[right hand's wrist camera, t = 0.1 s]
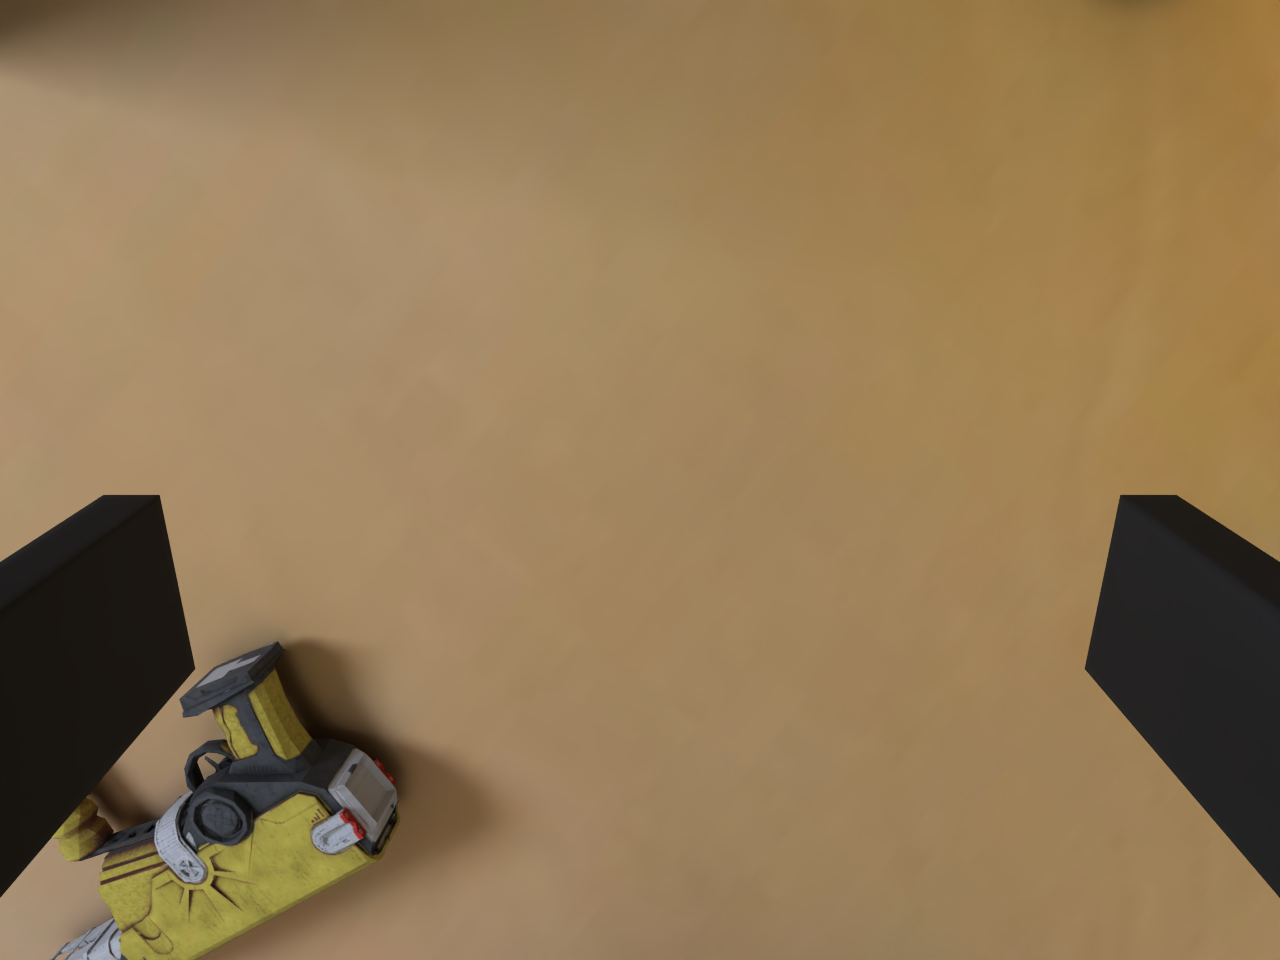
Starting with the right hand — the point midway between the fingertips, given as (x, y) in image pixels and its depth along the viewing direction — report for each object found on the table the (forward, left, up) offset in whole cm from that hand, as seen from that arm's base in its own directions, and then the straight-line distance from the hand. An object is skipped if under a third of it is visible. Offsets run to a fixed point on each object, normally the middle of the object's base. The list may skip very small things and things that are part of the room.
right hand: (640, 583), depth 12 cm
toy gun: (-27, +26, -28) cm, 47 cm away
